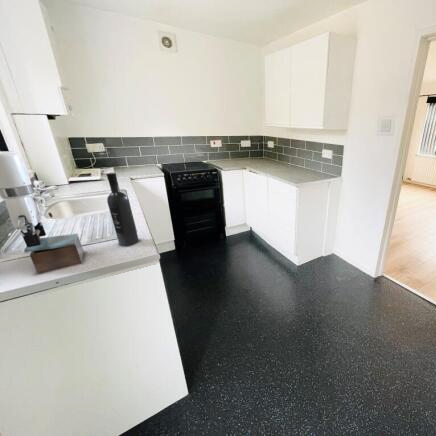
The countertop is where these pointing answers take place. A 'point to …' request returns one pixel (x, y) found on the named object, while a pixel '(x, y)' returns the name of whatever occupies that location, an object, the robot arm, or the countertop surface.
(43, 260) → the chest
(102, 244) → the countertop surface
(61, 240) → the lid
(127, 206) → the wine bottle
